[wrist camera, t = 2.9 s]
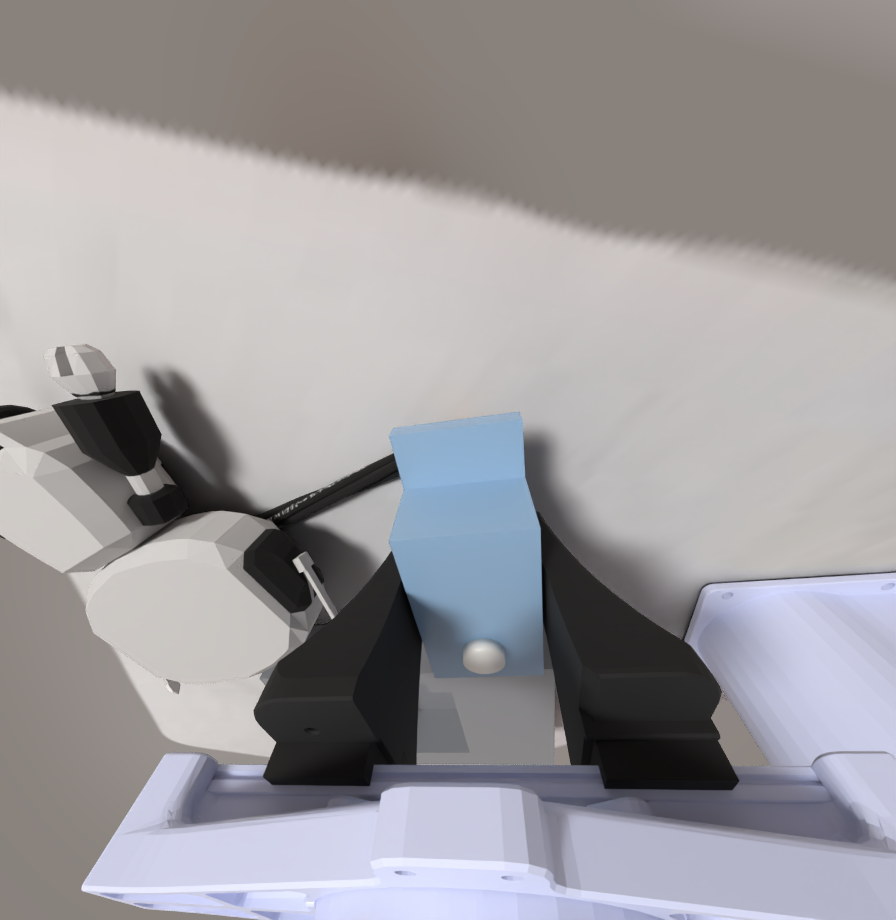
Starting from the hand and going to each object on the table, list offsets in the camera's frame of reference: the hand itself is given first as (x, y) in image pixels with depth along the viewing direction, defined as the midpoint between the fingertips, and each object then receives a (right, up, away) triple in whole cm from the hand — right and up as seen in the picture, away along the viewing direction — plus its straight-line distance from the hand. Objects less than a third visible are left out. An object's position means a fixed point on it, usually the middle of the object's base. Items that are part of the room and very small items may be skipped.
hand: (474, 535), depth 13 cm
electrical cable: (-7, +2, +2) cm, 8 cm away
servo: (0, +1, +2) cm, 2 cm away
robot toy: (-14, 0, +3) cm, 14 cm away
